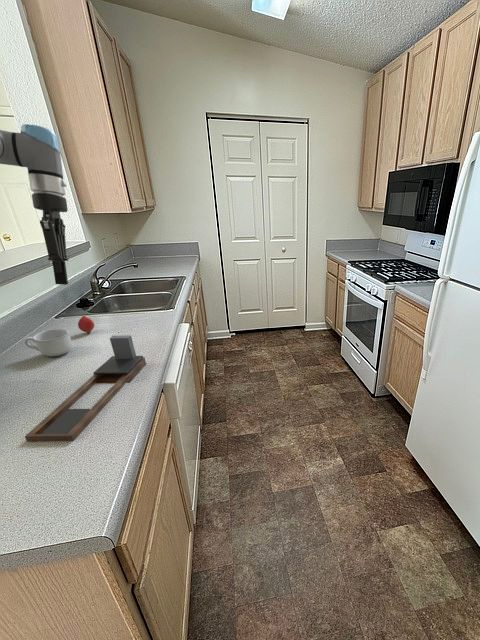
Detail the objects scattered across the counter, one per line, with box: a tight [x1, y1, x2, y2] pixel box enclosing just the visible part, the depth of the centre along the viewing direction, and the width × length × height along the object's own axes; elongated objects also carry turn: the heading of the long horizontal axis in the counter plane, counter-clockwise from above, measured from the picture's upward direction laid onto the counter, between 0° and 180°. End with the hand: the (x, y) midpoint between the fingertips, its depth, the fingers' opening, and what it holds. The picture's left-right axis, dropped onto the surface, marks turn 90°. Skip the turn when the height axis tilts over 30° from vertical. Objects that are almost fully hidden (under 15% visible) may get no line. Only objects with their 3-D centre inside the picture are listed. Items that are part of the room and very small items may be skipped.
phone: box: [41, 408, 91, 434], centre depth 84 cm, size 11×6×1 cm, turn 1°
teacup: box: [24, 328, 73, 358], centre depth 123 cm, size 14×11×8 cm
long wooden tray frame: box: [24, 356, 147, 443], centre depth 97 cm, size 42×11×3 cm, turn 1°
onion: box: [77, 314, 95, 334], centre depth 142 cm, size 6×6×8 cm
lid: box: [93, 334, 144, 375], centre depth 107 cm, size 12×11×8 cm
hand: (62, 284), depth 96 cm, fingers closed
